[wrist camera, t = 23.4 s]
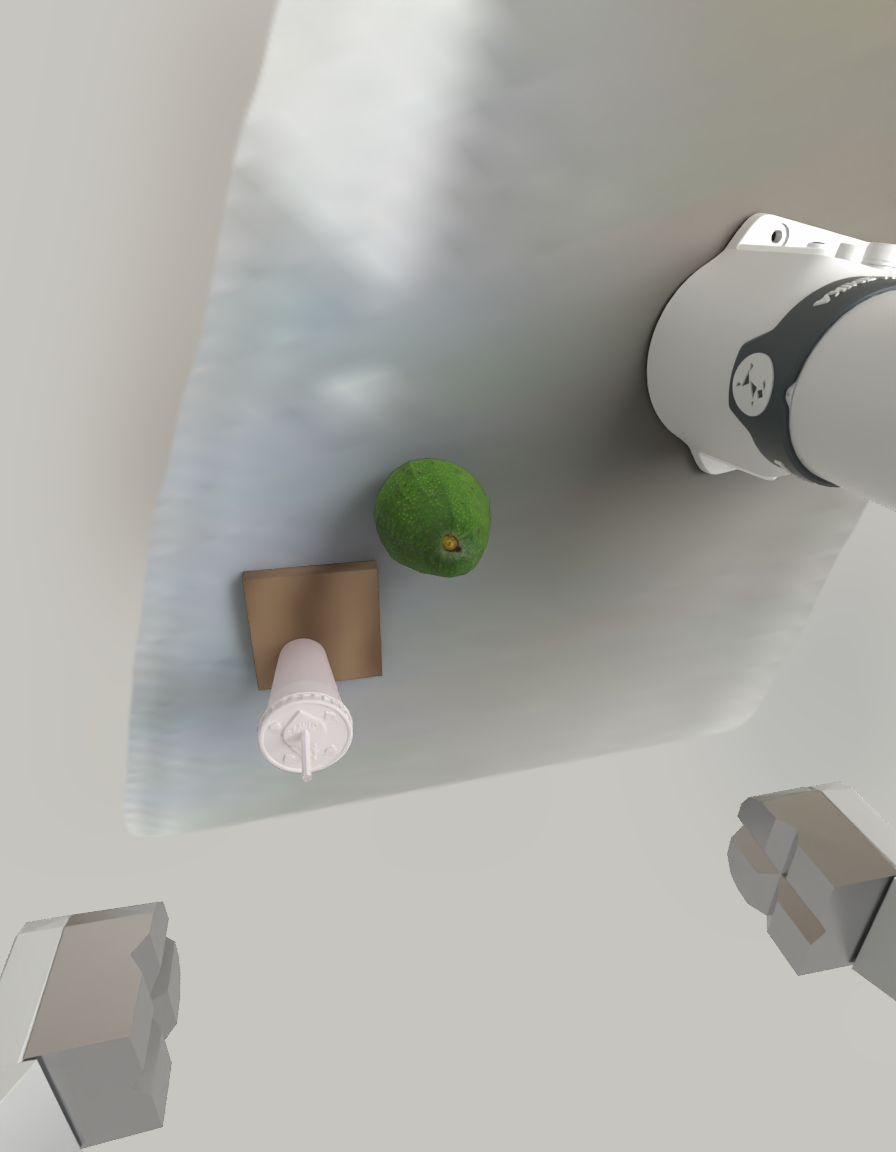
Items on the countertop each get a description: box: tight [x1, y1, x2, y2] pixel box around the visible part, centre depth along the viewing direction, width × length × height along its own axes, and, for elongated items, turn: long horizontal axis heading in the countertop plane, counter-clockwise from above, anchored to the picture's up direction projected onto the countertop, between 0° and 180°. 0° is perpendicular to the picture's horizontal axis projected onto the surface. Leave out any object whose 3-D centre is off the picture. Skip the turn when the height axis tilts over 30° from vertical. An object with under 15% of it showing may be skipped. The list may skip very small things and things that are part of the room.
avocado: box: [374, 458, 491, 577], centre depth 45 cm, size 8×8×12 cm
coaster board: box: [243, 560, 382, 690], centre depth 53 cm, size 10×10×2 cm
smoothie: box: [257, 638, 353, 782], centre depth 47 cm, size 6×6×14 cm
